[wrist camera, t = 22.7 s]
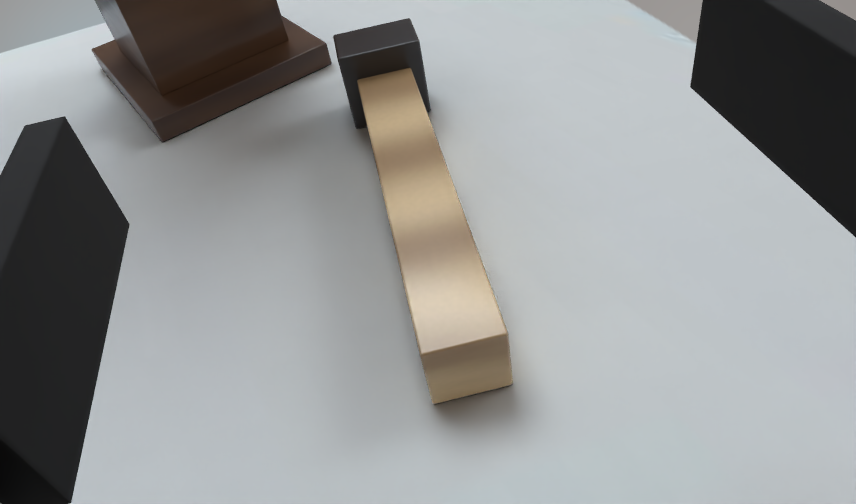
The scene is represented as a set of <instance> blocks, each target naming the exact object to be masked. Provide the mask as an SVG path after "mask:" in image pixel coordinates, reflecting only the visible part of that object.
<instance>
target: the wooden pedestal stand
mask: <svg viewBox="0 0 856 504" xmlns="http://www.w3.org/2000/svg"><path fill="white" fill-rule="evenodd" d="M95 1H96V4H97V6H98V8H99V10H100V12H101V14H102V16H103V17H104V19H105V21H106V23H107V25H108V27H109V29H110V31H111V33H112V35H113V37H114V39H115V40H113V41H111V42H108V43H106V44H103V45H101V46H98V47H96V48H93V49H92V52H93V53H94V55H95V57H96V59H97V61H98V63H99V64H100V66H101V68H102V69H103V70H104V71H105V73H106V74H107V75H108V76H109V78H110V79H111V80H112V81H113V82H114V84H115V85H116V86H117V87H118V89H119V90H120V91H121V92H122V93H123V95H124V96H125V97H126V98H127V100H128V101H129V102H130V103H131V105H132V106H133V107H134V108H135V109H136V111H137V112H138V113H139V114H140V116H141V117H142V118H143V119H144V120H145V122H146V123H147V124H148V125H149V127H150V128H151V129H152V130H153V131H154V133H155V134H156V135H157V136H158V138H159V139H160V140H161V141H162V142H164V141H166V140H168V139H171V138H173V137H175V136H177V135H179V134H181V133H183V132H186V131H188V130H190V129H192V128H194V127H196V126H199V125H201V124H203V123H205V122H207V121H209V120H211V119H214V118H216V117H218V116H220V115H222V114H224V113H226V112H229V111H231V110H233V109H235V108H237V107H239V106H241V105H244V104H246V103H248V102H250V101H252V100H254V99H256V98H259V97H261V96H263V95H265V94H267V93H269V92H272V91H274V90H276V89H278V88H280V87H282V86H284V85H287V84H289V83H291V82H293V81H295V80H297V79H299V78H302V77H304V76H306V75H308V74H310V73H312V72H314V71H317V70H319V69H321V68H323V67H325V66H327V65H329V64H331V59H330V56H329V52H328V48H327V44H326V43H325V42H323V41H322V40H320V39H319V38H317V37H315V36H314V35H312V34H310V33H309V32H307V31H306V30H304V29H302V28H301V27H299V26H298V25H296V24H294V23H293V22H291V21H289V20H288V19H286V18H285V17H283V16H281V14H280V10H279V7H278V4H277V1H276V0H95Z"/></svg>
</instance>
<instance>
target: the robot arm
mask: <svg viewBox="0 0 856 504" xmlns="http://www.w3.org/2000/svg"><path fill="white" fill-rule="evenodd" d="M690 87H691V88H692V89H693V90H694V91H695V92H696V93H697V94H699V95H700V96H701V97H702V98H703V99H704V100H705V101H706V102H707V103H708V104H710V105H711V106H712V107H713V108H714V109H715V110H716V111H717V112H718V113H719V114H721V115H722V116H723V117H724V118H725V119H726V120H727V121H728V122H729V123H730V124H732V125H733V126H734V127H735V128H736V129H737V130H738V131H739V132H740V133H741V134H743V135H744V136H745V137H746V138H747V139H748V140H749V141H750V142H751V143H752V144H754V145H755V146H756V147H757V148H758V149H759V150H760V151H761V152H762V153H763V154H765V155H766V156H767V157H768V158H769V159H770V160H771V161H772V162H773V163H774V164H776V165H777V166H778V167H779V168H780V169H781V170H782V171H783V172H784V173H785V174H787V175H788V176H789V177H790V178H791V179H792V180H793V181H794V182H795V183H796V184H798V185H799V186H800V187H801V188H802V189H803V190H804V191H805V192H806V193H807V194H809V195H810V196H811V197H812V198H813V199H814V200H815V201H816V202H817V203H818V204H820V205H821V206H822V207H823V208H824V209H825V210H826V211H827V212H828V213H829V214H831V215H832V216H833V217H834V218H835V219H836V220H837V221H838V222H839V223H840V224H842V225H843V226H844V227H845V228H846V229H847V230H848V231H849V232H850V233H851V234H853V235H854V236H855V237H856V21H855V20H854V19H852V18H850V17H848V16H846V15H845V14H843V13H841V12H839V11H837V10H836V9H834V8H832V7H830V6H828V5H827V4H825V3H823V2H821V1H819V0H703V3H702V10H701V16H700V24H699V31H698V37H697V44H696V51H695V58H694V65H693V72H692V79H691V86H690ZM128 229H129V223H128V221H127V219H126V218H125V216H124V214H123V213H122V211H121V209H120V208H119V206H118V204H117V203H116V201H115V199H114V198H113V196H112V194H111V193H110V191H109V189H108V188H107V186H106V184H105V183H104V181H103V179H102V178H101V176H100V174H99V173H98V171H97V169H96V168H95V166H94V164H93V163H92V161H91V159H90V158H89V156H88V154H87V153H86V151H85V149H84V148H83V146H82V144H81V143H80V141H79V139H78V138H77V136H76V134H75V133H74V131H73V129H72V128H71V126H70V124H69V123H68V121H67V119H66V118H65V116H64V117H60V118H56V119H51V120H47V121H43V122H38V123H34V124H30V125H26V126H24V128H23V130H22V132H21V134H20V136H19V138H18V141H17V143H16V145H15V147H14V149H13V151H12V153H11V155H10V157H9V159H8V161H7V163H6V165H5V167H4V169H3V171H2V173H1V175H0V503H1V504H69V503H71V500H72V496H73V491H74V486H75V481H76V477H77V472H78V467H79V462H80V457H81V453H82V448H83V443H84V438H85V434H86V429H87V424H88V419H89V415H90V410H91V405H92V400H93V396H94V391H95V386H96V381H97V377H98V372H99V367H100V362H101V357H102V353H103V348H104V343H105V338H106V334H107V329H108V324H109V319H110V315H111V310H112V305H113V300H114V296H115V291H116V286H117V281H118V277H119V272H120V267H121V262H122V257H123V253H124V248H125V243H126V238H127V234H128Z"/></svg>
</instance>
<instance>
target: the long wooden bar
mask: <svg viewBox="0 0 856 504" xmlns="http://www.w3.org/2000/svg"><path fill="white" fill-rule="evenodd" d="M334 42H335V47H336V53H337V58H338V62H339V66H340V70H341V73H342V77H343V81H344V85H345V89H346V93H347V96H348V100H349V104H350V108H351V112H352V115H353V119H354V123H355V127H356V128H357V129H358V128H362V127H368V131H369V136H370V140H371V144H372V149H373V153H374V157H375V162H376V166H377V171H378V175H379V179H380V184H381V188H382V192H383V197H384V201H385V205H386V210H387V214H388V218H389V223H390V227H391V231H392V236H393V240H394V244H395V249H396V253H397V257H398V262H399V266H400V270H401V275H402V279H403V283H404V288H405V292H406V296H407V301H408V305H409V309H410V314H411V318H412V322H413V327H414V331H415V335H416V340H417V344H418V348H419V353H420V357H421V361H422V365H423V369H424V373H425V377H426V381H427V385H428V388H429V392H430V396H431V400H432V403H433V404H437V403H441V402H445V401H449V400H453V399H457V398H461V397H465V396H469V395H473V394H477V393H481V392H485V391H489V390H493V389H497V388H501V387H505V386H509V385H512V383H513V380H512V370H511V359H510V349H509V338H508V332H507V329H506V326H505V324H504V321H503V318H502V316H501V313H500V310H499V307H498V305H497V302H496V299H495V296H494V294H493V291H492V288H491V286H490V283H489V280H488V277H487V275H486V272H485V269H484V266H483V264H482V261H481V258H480V256H479V253H478V250H477V247H476V245H475V242H474V239H473V236H472V234H471V231H470V228H469V225H468V223H467V220H466V217H465V215H464V212H463V209H462V206H461V204H460V201H459V198H458V195H457V193H456V190H455V187H454V185H453V182H452V179H451V176H450V174H449V171H448V168H447V165H446V163H445V160H444V157H443V155H442V152H441V149H440V146H439V144H438V141H437V138H436V135H435V133H434V130H433V127H432V125H431V122H430V119H429V116H428V114H427V112H430V111H431V109H430V103H429V97H428V90H427V84H426V78H425V72H424V66H423V60H422V54H421V48H420V42H419V39H418V37H417V34H416V32H415V29H414V27H413V25H412V22H411V20H410V18H408V19H403V20H399V21H394V22H390V23H386V24H381V25H377V26H372V27H368V28H363V29H359V30H355V31H350V32H346V33H341V34H337V35H334Z"/></svg>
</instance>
